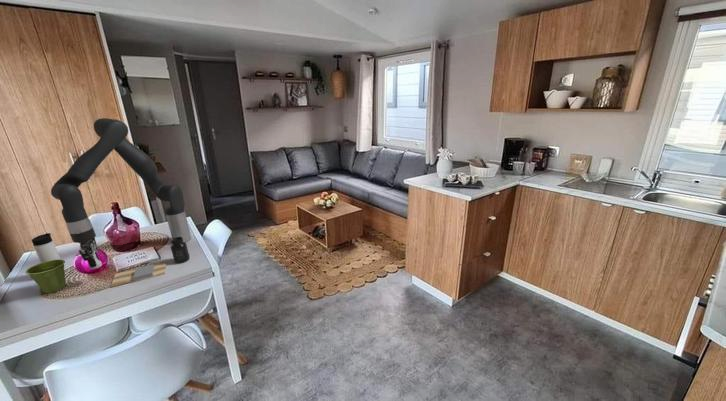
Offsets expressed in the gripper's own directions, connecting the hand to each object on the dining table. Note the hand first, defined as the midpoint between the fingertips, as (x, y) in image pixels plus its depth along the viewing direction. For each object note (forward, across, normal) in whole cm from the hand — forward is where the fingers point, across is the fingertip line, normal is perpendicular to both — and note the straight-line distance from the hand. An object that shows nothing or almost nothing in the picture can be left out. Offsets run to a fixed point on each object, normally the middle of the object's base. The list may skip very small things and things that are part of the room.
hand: (95, 263), depth 131 cm
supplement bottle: (+10, -1, +32) cm, 33 cm away
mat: (+9, +4, +15) cm, 18 cm away
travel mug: (+9, -19, -20) cm, 29 cm away
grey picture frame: (+8, +5, +17) cm, 19 cm away
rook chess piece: (+2, 0, 0) cm, 2 cm away
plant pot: (+9, -4, -17) cm, 19 cm away
